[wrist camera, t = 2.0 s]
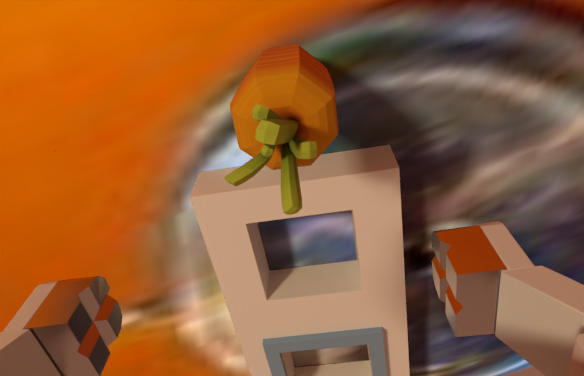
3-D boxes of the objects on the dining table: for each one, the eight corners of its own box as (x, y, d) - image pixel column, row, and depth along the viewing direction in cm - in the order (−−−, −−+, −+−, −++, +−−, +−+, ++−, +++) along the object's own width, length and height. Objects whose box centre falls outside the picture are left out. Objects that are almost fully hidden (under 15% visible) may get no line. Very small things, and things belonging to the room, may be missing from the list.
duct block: (389, 144, 31) (401, 172, 27) (403, 374, 44) (412, 413, 40) (200, 172, 32) (187, 201, 28) (268, 387, 45) (265, 425, 41)
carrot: (316, 105, 29) (329, 242, 16) (244, 87, 29) (198, 214, 16) (338, 31, 27) (374, 123, 14) (260, 10, 26) (221, 85, 13)
